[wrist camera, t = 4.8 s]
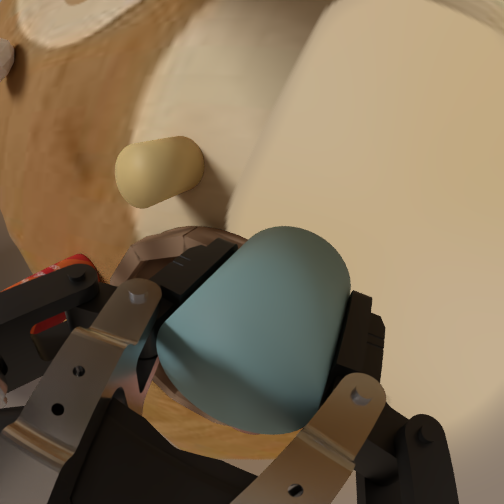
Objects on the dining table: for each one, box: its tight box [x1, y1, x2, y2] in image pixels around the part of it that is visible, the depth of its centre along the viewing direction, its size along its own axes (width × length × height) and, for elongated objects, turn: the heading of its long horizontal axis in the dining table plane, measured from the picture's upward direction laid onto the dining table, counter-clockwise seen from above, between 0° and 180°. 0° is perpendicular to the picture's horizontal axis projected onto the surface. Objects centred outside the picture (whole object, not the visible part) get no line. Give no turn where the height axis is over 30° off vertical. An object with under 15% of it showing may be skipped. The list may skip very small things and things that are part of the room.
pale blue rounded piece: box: [156, 226, 351, 434], centre depth 9 cm, size 4×4×5 cm
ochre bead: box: [115, 136, 204, 208], centre depth 21 cm, size 4×4×5 cm
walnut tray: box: [110, 226, 248, 426], centre depth 27 cm, size 22×22×3 cm
